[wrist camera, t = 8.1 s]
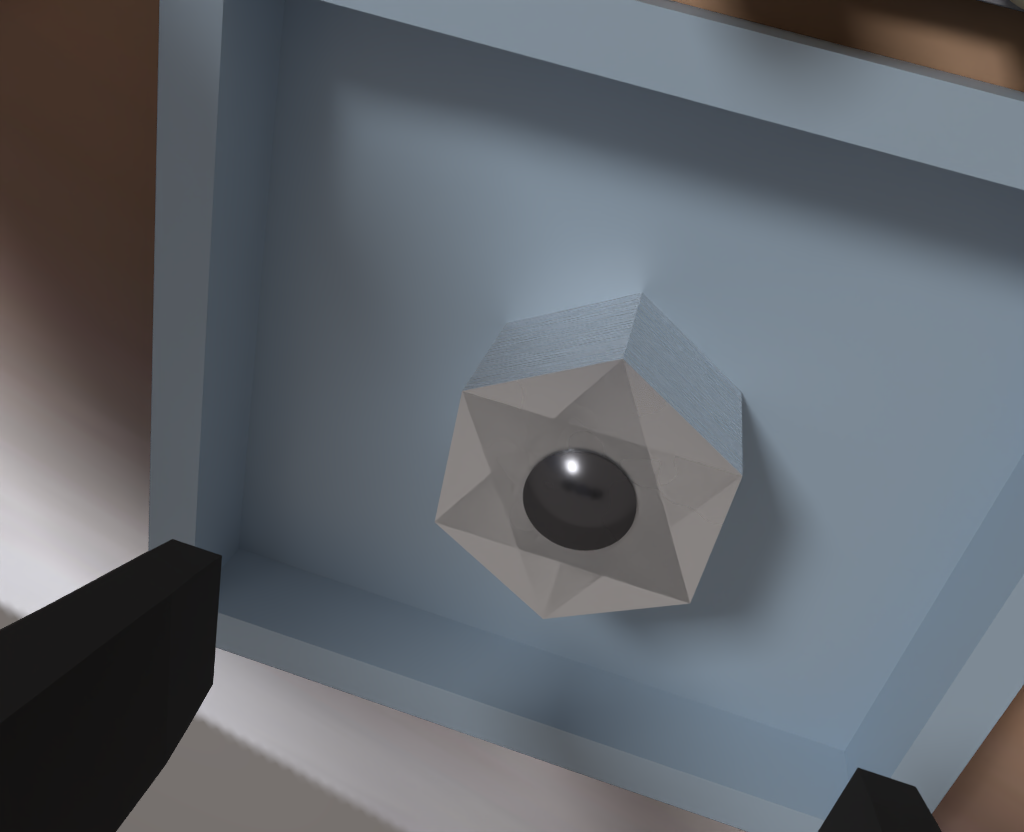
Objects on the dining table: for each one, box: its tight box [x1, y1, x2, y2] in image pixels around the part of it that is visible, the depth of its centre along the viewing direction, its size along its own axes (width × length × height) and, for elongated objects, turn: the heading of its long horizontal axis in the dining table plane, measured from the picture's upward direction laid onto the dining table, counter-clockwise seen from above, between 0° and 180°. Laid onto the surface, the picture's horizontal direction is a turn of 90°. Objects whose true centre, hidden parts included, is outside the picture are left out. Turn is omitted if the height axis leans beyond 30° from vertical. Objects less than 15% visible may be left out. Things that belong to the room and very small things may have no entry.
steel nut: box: [435, 292, 743, 619], centre depth 15 cm, size 4×5×3 cm
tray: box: [149, 0, 1024, 832], centre depth 16 cm, size 16×14×2 cm
